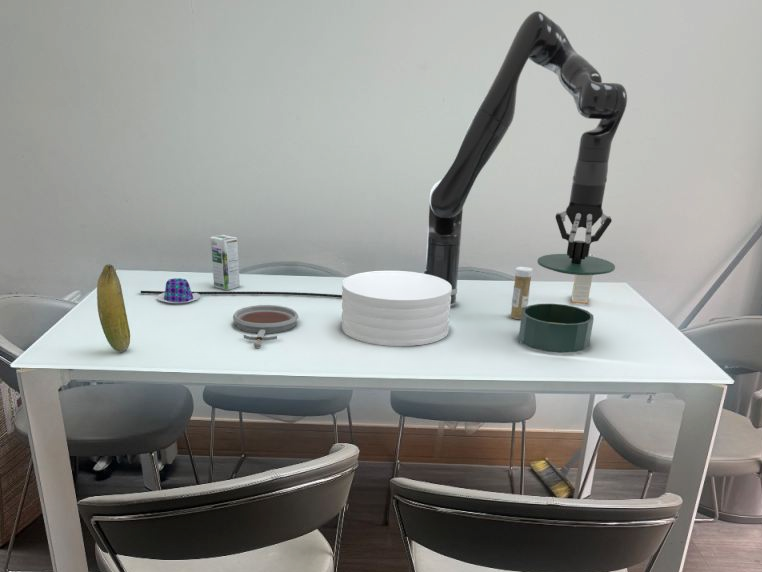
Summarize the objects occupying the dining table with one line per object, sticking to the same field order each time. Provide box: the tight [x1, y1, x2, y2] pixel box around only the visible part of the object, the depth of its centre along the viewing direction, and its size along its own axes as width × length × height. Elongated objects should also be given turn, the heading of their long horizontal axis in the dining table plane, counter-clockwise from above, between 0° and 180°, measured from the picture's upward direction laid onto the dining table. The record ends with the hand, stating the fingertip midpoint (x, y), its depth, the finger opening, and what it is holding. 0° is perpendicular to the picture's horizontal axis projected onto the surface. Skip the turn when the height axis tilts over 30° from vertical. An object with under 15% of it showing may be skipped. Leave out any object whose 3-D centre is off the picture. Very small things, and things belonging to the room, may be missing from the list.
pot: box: [518, 303, 595, 354], centre depth 193 cm, size 18×18×8 cm
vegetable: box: [96, 263, 131, 353], centre depth 174 cm, size 6×6×20 cm
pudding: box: [156, 277, 201, 304], centre depth 215 cm, size 12×12×5 cm
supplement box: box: [570, 253, 595, 305], centre depth 225 cm, size 8×5×13 cm, turn 168°
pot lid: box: [537, 240, 616, 276], centre depth 185 cm, size 19×19×6 cm
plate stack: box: [341, 270, 452, 347], centre depth 197 cm, size 28×28×12 cm
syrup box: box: [210, 234, 241, 291], centre depth 225 cm, size 6×6×14 cm
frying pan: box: [232, 304, 299, 349], centre depth 195 cm, size 17×3×28 cm
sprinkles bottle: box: [510, 266, 533, 320], centre depth 209 cm, size 5×5×13 cm
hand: (576, 257), depth 186 cm, fingers closed on pot lid, 2 cm apart
